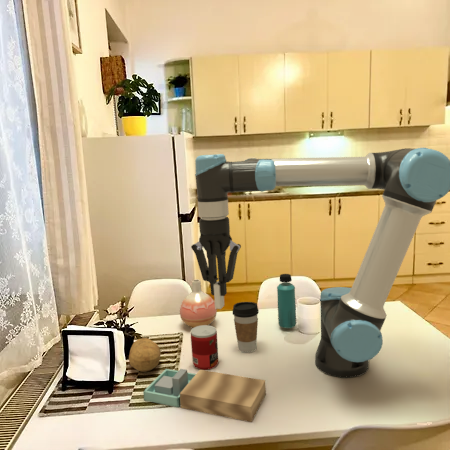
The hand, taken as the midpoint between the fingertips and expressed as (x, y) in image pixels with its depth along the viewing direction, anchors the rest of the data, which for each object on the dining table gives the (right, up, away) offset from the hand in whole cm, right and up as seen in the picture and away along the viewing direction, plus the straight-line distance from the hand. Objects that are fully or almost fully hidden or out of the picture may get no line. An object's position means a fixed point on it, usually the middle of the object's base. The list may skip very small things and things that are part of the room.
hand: (219, 306), depth 107 cm
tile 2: (-10, -21, +4) cm, 24 cm away
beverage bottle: (+24, -16, +41) cm, 50 cm away
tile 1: (-14, -22, +6) cm, 27 cm away
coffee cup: (+9, -19, +28) cm, 35 cm away
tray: (-13, -24, +6) cm, 28 cm away
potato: (-23, -23, +20) cm, 38 cm away
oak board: (+1, -24, 0) cm, 24 cm away
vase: (-8, -17, +48) cm, 51 cm away
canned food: (-5, -22, +20) cm, 29 cm away
